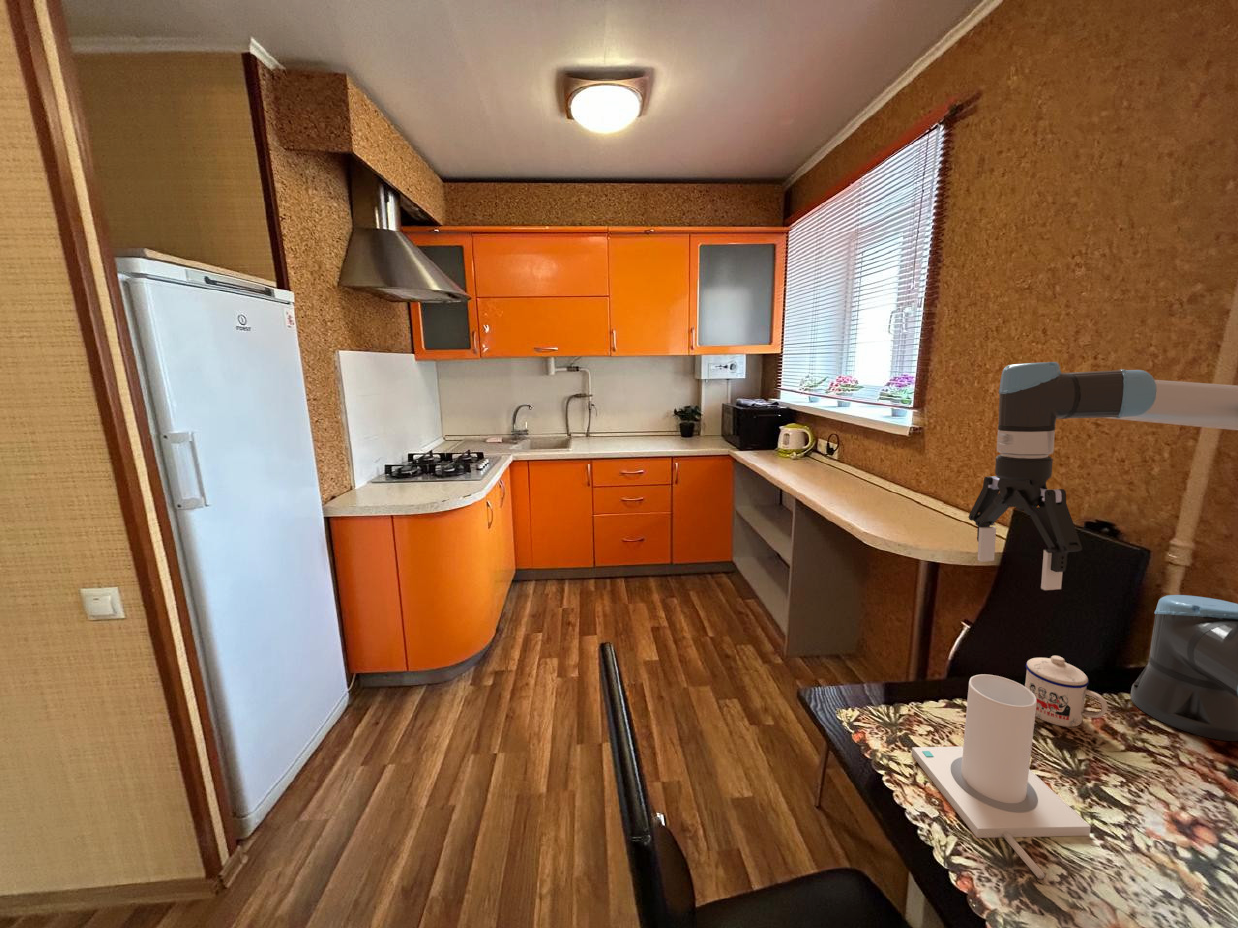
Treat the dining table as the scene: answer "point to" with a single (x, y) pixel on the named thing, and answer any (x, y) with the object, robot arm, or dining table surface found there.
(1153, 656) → the robot arm
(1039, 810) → the pad
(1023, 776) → the cup
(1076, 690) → the teacup with lid
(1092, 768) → the dining table surface
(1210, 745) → the dining table surface
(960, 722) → the dining table surface
